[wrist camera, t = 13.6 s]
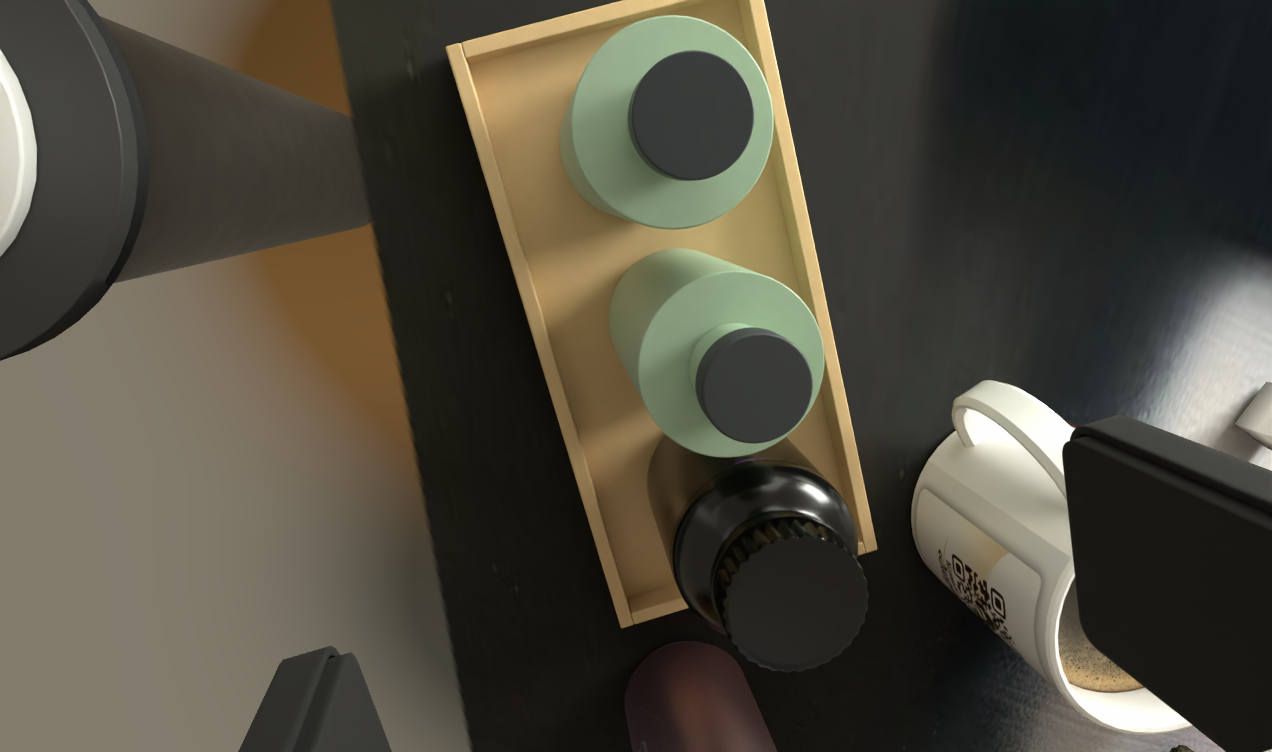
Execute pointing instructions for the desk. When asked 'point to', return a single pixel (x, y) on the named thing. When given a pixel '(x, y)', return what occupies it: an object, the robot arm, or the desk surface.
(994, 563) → the mug
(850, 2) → the desk surface
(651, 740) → the beverage can
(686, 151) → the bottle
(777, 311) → the middle bottle
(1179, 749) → the rock
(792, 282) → the tray
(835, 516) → the supplement bottle
